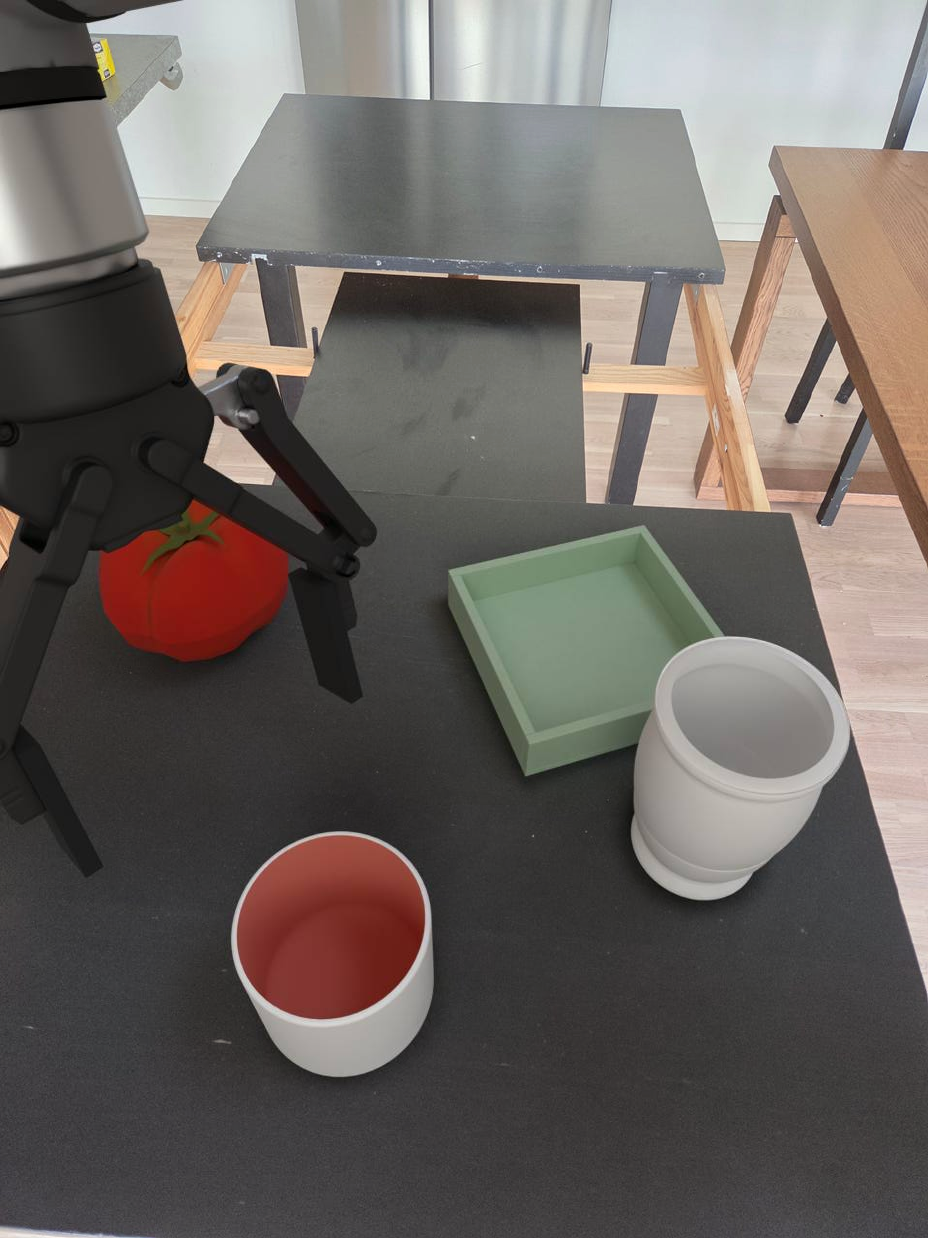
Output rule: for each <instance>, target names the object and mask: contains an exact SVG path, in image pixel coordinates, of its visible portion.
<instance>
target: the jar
mask: <svg viewBox="0 0 928 1238" xmlns="http://www.w3.org/2000/svg"><path fill="white" fill-rule="evenodd" d="M847 711H848V710H847V708H846V706H845V704H844V702H843V700H842V698H841V696H840V694H839V692H838V691H837V689H836V688H835V686H833V684H832V683H831V682H830V681H829V679H828V678H827V677H826V676H825V675H824V674H823V673H822V672H821V671H820V670H819V669H818V668H816V666H814V665H813V664H812V663H810V661H807V660H806V659H804V658H803V657H801V656H800V655H798V654H797V653H795V652H793V651H791V650H789V649H787V648H785V647H782V646H780V645H777V644H775V643H772V642H769V641H766V640H762V639H757V638H753V637H744V636H725V637H718V638H711V639H707V640H703V641H700V642H697V643H695V644H692V645H690V646H688V647H686V648H685V649H683V650H681V651H680V652H679V653H677V654H676V655H675V656H674V657H673V658H672V659H671V660H670V661H669V662H668V663H667V665H666V666H665V667H664V669H663V671H662V673H661V675H660V677H659V680H658V682H657V685H656V688H655V692H654V698H653V710H652V712H651V714H650V716H649V718H648V720H647V722H646V724H645V726H644V729H643V731H642V734H641V737H640V740H639V743H637V747H636V753H635V758H634V767H633V810H634V812H633V813H634V814H633V815H632V819H631V824H630V825H631V826H630V839H631V844H632V848H633V851H634V854H635V856H636V859H637V860H638V862H639V864H640V866H641V867H642V869H643V870H644V871H645V872H646V874H647V875H648V876H649V877H650V878H651V879H652V880H653V881H655V883H657V884H658V885H659V886H660V887H662V888H664V889H665V890H667V891H669V892H671V893H672V894H675V895H677V896H679V897H683V898H686V899H690V900H695V901H714V900H720V899H723V898H726V897H728V896H731V895H733V894H735V893H736V892H737V891H739V890H741V888H743V887H744V886H745V885H746V884H747V883H748V882H749V880H750V878H751V877H752V876H753V873H754V872H756V871H758V870H759V869H761V868H762V867H763V866H764V865H766V864H767V863H768V862H769V861H770V860H771V859H772V858H774V856H775V855H777V854H778V853H779V852H780V851H782V850H783V849H784V848H785V847H786V846H787V845H788V844H789V843H791V841H792V840H794V838H795V837H796V836H797V835H798V834H799V833H800V831H801V830H802V829H803V828H804V826H805V824H806V823H807V822H808V820H809V818H810V817H811V815H812V813H813V811H814V809H815V807H816V805H817V803H818V800H819V798H820V796H821V793H822V790H823V787H824V786H825V785H826V784H827V783H828V782H830V780H831V779H832V778H833V777H834V776H835V774H836V773H837V772H838V770H839V769H840V767H841V765H842V764H843V761H844V759H845V758H846V755H847V753H848V750H849V746H850V740H851V727H850V726H851V725H850V718H849V714H848V712H847Z"/></svg>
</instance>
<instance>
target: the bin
mask: <svg viewBox="0 0 928 1238" xmlns="http://www.w3.org/2000/svg"><path fill="white" fill-rule="evenodd" d="M447 605H448V608H449V609H450V611H451V612H450V613H451V614H452V617H453V619H454V621H455V623H456V626H457V628H458V630H459V633H460V634H461V637H462V639H463V641H464V643H465V645H466V648H467V650H468V652H469V654H470V656H471V659H472V661H473V663H474V666H475V668H476V670H477V672H478V674H479V677H480V679H481V681H482V683H483V685H484V688H485V690H486V692H487V694H488V696H489V699H490V701H491V704H492V706H493V708H494V711H495V712H496V714H497V717H498V719H499V721H500V724H501V726H502V728H503V731H504V732H505V734H506V737H507V739H508V741H509V743H510V745H511V748H512V750H513V752H514V755H515V756H516V759H517V762H518V764H519V765H520V768H521V770H522V772H523V774H524V776H525V777H528V776H531V775H532V776H533V775H535V774H538V773H542V772H545V771H548V770H552V769H555V768H559V767H562V766H566V765H569V764H572V763H576V762H579V761H582V760H583V761H584V760H586V759H589V758H593V757H596V756H597V757H598V756H599V755H603V754H607V753H610V752H613V751H617V750H620V749H624V748H628V747H630V746H634V745H638V744H639V740H640V737H641V734H642V731H643V729H644V726H645V724H646V722H647V720H648V718H649V716H650V714H651V712H652V710H653V698H654V692H655V688H656V685H657V682H658V680H659V677H660V675H661V673H662V671H663V669H664V667H665V666H666V665H667V663H668V662H669V661H670V660H671V659H672V658H673V657H674V656H675V655H676V654H677V653H679V652H680V651H681V650H683V649H685V648H686V647H688V646H690V645H692V644H695V643H697V642H700V641H703V640H707V639H711V638H718V637H726V636H725V634H724V633H723V632H722V630H721V629H720V628H719V626H718V625H717V623H716V622H715V621H714V618H712V617H711V615H710V613H709V612H708V611H707V610H706V608H705V607H704V605H703V604H702V603H701V601H700V600H699V598H698V597H697V596H696V594H695V593H694V592H693V590H692V589H691V588H690V586H689V584H688V583H687V582H686V580H685V579H684V578H683V576H682V575H681V573H679V571H678V570H677V568H676V566H675V565H674V564H673V563H672V561H671V559H669V557H668V555H666V553H665V552H664V550H663V549H662V547H661V546H660V545H659V543H658V542H657V541H656V539H655V538H654V536H653V535H652V534H651V532H650V531H649V529H648V528H647V526H646V525H645V524H642V525H639V526H638V525H637V526H634V527H630V528H625V529H621V530H617V531H613V532H607V533H603V534H598V535H595V536H591V537H585V538H582V539H578V540H573V541H569V542H565V543H564V542H563V543H560V544H555V545H551V546H546V547H542V548H538V549H534V550H530V551H525V552H520V553H516V554H512V555H507V556H503V557H498V558H493V559H490V560H486V561H482V562H477V563H472V564H468V565H464V566H460V567H455V568H451V569H448V570H447Z"/></svg>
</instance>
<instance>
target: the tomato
mask: <svg viewBox="0 0 928 1238" xmlns="http://www.w3.org/2000/svg"><path fill="white" fill-rule="evenodd" d="M182 518H183V521H181V522H179V523H177V524H174V525H172V526H170V527H168V528H165V529H158V530H152V531H146V532H144V533H142V534H141V535H140V536H138V537H137V538H136V539H135V540H133V541H132V542H131V543H129V544H128V545H127V546H124V547H122V548H120V549H118V550H115V551H113V552H111V553H109V554H107V553H106V552H104V551H102V550H100V555H99V564H98V580H99V589H100V598H101V602H102V606H103V612H104V615H106V617H107V618H108V619H109V621H110V622H111V623H112V625H113V626H114V627H115V629H116V630H117V631H118V633H119V634H120V635H121V636H122V637H123V639H124V641H126V643H127V644H128V645H129V646H132V647H134V648H136V649H139V650H141V651H145V652H150V653H157V654H162V655H164V656H165V655H166V656H168V657H170V658H172V659H174V660H175V659H176V660H177V661H180V662H182V663H188V662H196V661H205V660H211V659H213V658H216V657H219V656H222V655H224V654H227V653H230V652H233V651H235V650H236V649H238V648H239V646H240V645H241V644H242V643H243V642H244V641H246V639H247V638H249V636H251V635H252V634H253V633H255V632H256V631H258V630H260V629H261V628H264V627H266V626H267V625H269V624H271V623H272V621H273V620H274V618H275V616H276V615H277V613H278V611H279V610H280V608H281V606H282V605H283V602H284V600H285V599H286V596H287V594H288V581H289V577H288V573H289V569H290V568H289V566H290V559H289V556H288V555H289V554H288V553H287V552H285V551H283V550H281V549H280V548H278V547H276V546H274V545H273V544H271V543H269V542H267V541H266V540H264V539H262V538H260V537H259V536H257V535H255V534H253V533H252V532H250V531H248V530H246V529H244V528H243V527H241V526H239V525H237V524H236V523H234V522H232V521H230V520H229V519H227V518H225V517H223V516H222V515H220V514H218V513H216V512H215V511H213V510H211V509H209V508H208V507H206V506H204V505H202V504H201V503H199V502H197V501H195V500H192V502H191V504H190V506H189V507H188V509H187V510H186V511H185V512H184V513H183V514H182Z"/></svg>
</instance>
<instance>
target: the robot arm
mask: <svg viewBox="0 0 928 1238" xmlns="http://www.w3.org/2000/svg"><path fill="white" fill-rule="evenodd" d="M182 1H183V0H0V507H2V508H3V509H5V510H7V511H8V512H11V513H13V514H14V515H16V516H17V517H19V518H18V520H17V523H16V526H15V529H14V532H13V534H12V537H11V540H10V543H9V548H8V558H9V561H8V566H7V568H6V571H5V575H4V577H3V580H2V582H1V583H2V584H1V586H0V806H1V807H2V809H3V810H4V812H5V813H6V814H7V816H8V817H9V818H10V820H13V821H14V822H16V823H17V824H19V825H21V826H24V825H25V824H26V823H28V822H29V821H32V820H33V819H35V818H36V817H38V816H40V815H42V817H43V818H44V820H45V822H46V824H47V825H48V828H49V829H50V831H51V833H52V834H53V836H54V838H55V840H56V842H57V843H58V846H59V847H60V848H61V850H62V851H63V852H64V854H66V856H67V857H68V859H70V861H71V862H72V863H73V864H74V865H75V868H77V869H78V870H79V871H80V873H81V874H82V875H83V876H84V878H85V879H88V878H89V877H91V876H92V875H94V874H96V873H97V872H98V871H100V870H102V869H103V868H104V863H103V862H102V861H101V859H100V857H99V854H98V852H97V851H96V849H95V847H94V845H93V843H92V842H91V840H90V837H89V836H88V834H87V832H86V830H85V827H83V824H82V822H81V821H80V819H79V816H78V815H77V813H76V811H75V808H74V806H73V805H72V803H71V801H70V799H69V798H68V796H67V794H66V791H65V789H64V787H63V786H62V784H61V782H60V780H59V778H58V777H57V775H56V772H55V771H54V769H53V767H52V765H51V763H50V761H49V759H48V758H47V756H46V754H45V752H44V749H43V748H42V745H41V744H40V743H39V742H38V741H37V739H36V738H35V737H34V736H33V735H32V734H31V733H30V732H29V731H28V730H27V729H26V728H25V727H24V726H23V725H22V720H23V717H24V715H25V712H26V709H27V706H28V704H29V701H30V698H31V695H32V692H33V689H34V686H35V684H36V681H37V679H38V675H39V672H40V669H41V666H42V664H43V661H44V658H45V656H46V652H47V650H48V647H49V644H50V641H51V638H52V635H53V633H54V630H55V628H56V627H55V626H56V624H57V621H58V618H59V617H60V613H61V609H62V607H63V604H64V602H65V599H66V595H67V592H68V591H69V589H70V588H71V587H72V586H74V585H75V584H76V583H77V582H78V580H79V578H80V576H81V573H82V570H83V567H84V565H85V562H86V559H87V556H88V554H89V551H90V552H99V551H100V552H101V550H102V551H104V552H106V553H107V554H109V553H111V552H113V551H115V550H118V549H120V548H122V547H124V546H127V545H128V544H129V543H131V542H132V541H133V540H135V539H136V538H137V537H138V536H140V535H141V534H142V533H144V532H146V531H152V530H158V529H165V528H168V527H170V526H172V525H174V524H177V523H179V522H181V521H183V518H182V514H183V513H184V512H185V511H186V510H187V509H188V507H189V506H190V504H191V502H192V500H195V501H197V502H199V503H201V504H202V505H204V506H206V507H208V508H209V509H211V510H213V511H215V512H216V513H218V514H220V515H222V516H223V517H225V518H227V519H229V520H230V521H232V522H234V523H236V524H237V525H239V526H241V527H243V528H244V529H246V530H248V531H250V532H252V533H253V534H255V535H257V536H259V537H260V538H262V539H264V540H266V541H267V542H269V543H271V544H273V545H274V546H276V547H278V548H280V549H281V550H283V551H285V552H286V553H287V555H290V556H292V557H294V558H295V559H297V560H299V561H301V562H303V563H305V566H306V568H304V567H302V566H299V567H298V568H296V569H294V570H292V571H290V572H288V581H289V583H290V587H291V590H292V594H293V598H294V601H295V605H296V608H297V612H298V615H299V620H300V623H301V626H302V629H303V633H304V637H305V641H306V644H307V647H308V652H309V654H310V658H311V662H312V666H313V669H314V673H315V676H316V680H317V683H318V686H320V687H321V688H323V689H325V690H327V691H328V692H330V693H332V694H333V695H335V696H336V697H338V698H340V699H341V700H344V702H347V703H349V704H350V705H352V704H354V703H356V702H357V701H359V700H361V699H362V698H364V693H363V690H362V686H361V681H360V677H359V673H358V669H357V665H356V661H355V657H354V654H353V650H352V646H351V642H350V637H349V634H348V632H349V631H350V630H352V629H354V628H356V627H357V621H358V612H357V608H356V605H355V600H354V595H353V590H352V587H351V583H350V581H351V580H353V579H355V578H356V577H357V576H358V574H359V572H360V570H361V562H360V558H359V557H358V556H357V555H355V553H356V552H357V551H358V550H359V549H360V548H361V547H362V548H368V547H371V546H372V545H373V544H374V542H375V541H376V539H377V536H378V528H377V526H376V525H375V523H374V522H373V521H372V519H371V518H370V517H369V515H367V513H366V512H365V511H364V509H363V508H362V506H361V505H359V503H358V501H356V500H355V499H354V497H353V496H352V494H350V492H349V491H348V490H347V489H346V488H345V486H344V485H343V484H342V482H341V481H340V480H339V478H338V477H337V476H336V475H335V474H334V473H333V471H332V470H331V469H330V468H329V465H327V464H326V462H325V461H324V460H323V459H322V458H321V457H320V455H319V454H318V453H317V451H316V450H315V449H314V448H313V446H312V445H311V444H310V443H309V442H308V441H307V439H306V438H305V436H304V435H303V434H302V433H301V432H300V430H299V429H298V428H297V427H296V426H295V424H294V423H293V422H292V421H291V419H290V418H289V416H288V414H287V411H286V409H285V405H284V403H283V400H282V397H281V395H280V392H279V390H278V386H277V383H276V381H275V378H274V376H273V374H272V373H271V372H270V371H269V370H267V369H265V368H260V367H256V366H251V365H245V364H240V363H235V362H224V363H223V364H221V365H220V366H219V367H218V369H217V371H216V374H215V378H214V379H212V380H210V381H208V382H206V383H204V384H201V385H200V386H197V385H196V383H195V382H194V381H193V379H192V377H191V374H190V373H189V367H188V356H187V352H186V348H185V345H184V343H183V338H182V335H181V331H180V329H179V326H178V322H177V319H176V315H175V313H174V310H173V305H172V302H171V299H170V296H169V294H168V289H167V286H166V283H165V280H164V277H163V274H162V269H161V268H160V267H156V266H154V265H153V262H152V261H151V260H149V259H147V258H141V257H140V258H139V256H138V253H137V249H136V247H137V246H139V245H140V246H141V244H142V243H145V241H146V239H147V237H148V235H149V234H150V230H149V227H148V224H147V220H146V216H145V213H144V210H143V208H142V204H141V200H140V198H139V194H138V191H137V188H136V185H135V182H134V179H133V175H132V172H131V169H130V168H131V167H130V165H129V163H128V159H127V155H126V152H125V149H124V147H123V143H122V140H121V137H120V133H119V131H118V127H117V124H116V121H115V117H114V114H113V110H112V108H111V105H110V101H109V100H106V98H108V95H107V91H106V89H105V86H104V83H103V79H102V76H101V73H100V72H99V70H100V65H99V62H98V59H97V55H96V52H95V47H94V45H93V41H92V38H91V35H90V31H89V28H88V24H90V23H91V24H92V23H96V22H97V23H98V22H102V21H106V20H110V19H114V18H117V17H119V16H122V15H124V14H126V13H128V12H131V11H137V10H141V9H148V8H152V7H157V6H161V5H167V4H172V3H177V2H182ZM216 417H218V419H220V421H221V422H222V424H224V425H225V426H227V427H230V428H234V429H237V430H238V432H239V433H240V434H241V435H242V437H243V439H245V440H246V442H248V444H249V445H250V446H251V447H252V448H253V450H254V451H255V452H256V453H257V454H258V455H259V456H260V458H262V459H263V461H264V462H265V463H266V464H267V465H268V467H270V468H271V470H272V471H273V472H274V473H275V474H276V476H277V477H278V478H279V479H280V480H281V481H282V482H283V484H284V485H285V486H286V487H287V488H288V489H289V490H290V492H292V493H293V495H294V496H295V497H296V499H298V500H299V502H300V503H301V504H302V505H303V506H304V507H305V508H306V509H307V511H308V512H309V513H310V514H311V516H313V518H314V519H315V520H316V521H317V522H318V523H319V524H320V525H321V527H322V530H320V531H319V533H316V532H314V531H313V530H311V529H310V528H308V527H306V526H305V525H303V524H302V523H300V522H298V521H296V520H295V519H294V518H292V517H291V516H290V515H289V516H288V515H287V514H286V513H284V512H282V511H281V510H279V509H277V508H275V507H274V506H272V505H271V504H269V503H268V502H266V501H264V500H263V499H261V498H259V497H258V496H257V495H254V494H253V493H251V492H250V491H248V490H246V489H245V488H244V486H242V485H241V484H240V483H237V482H236V481H235V480H232V479H231V478H229V477H228V476H226V475H225V474H223V473H222V472H220V471H218V470H217V469H216V468H214V467H212V466H210V465H208V464H207V463H205V459H206V455H207V452H208V448H209V445H210V441H211V438H212V434H213V430H214V427H215V418H216Z"/></svg>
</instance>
